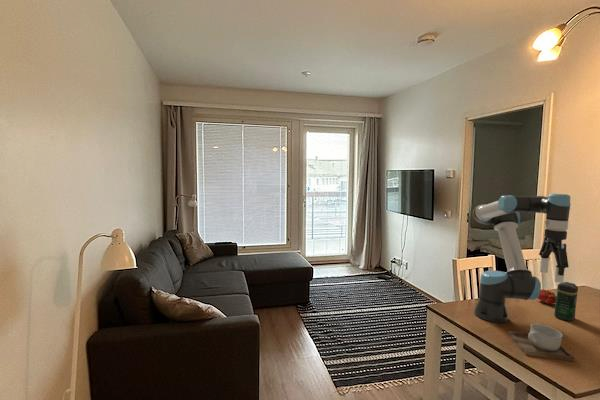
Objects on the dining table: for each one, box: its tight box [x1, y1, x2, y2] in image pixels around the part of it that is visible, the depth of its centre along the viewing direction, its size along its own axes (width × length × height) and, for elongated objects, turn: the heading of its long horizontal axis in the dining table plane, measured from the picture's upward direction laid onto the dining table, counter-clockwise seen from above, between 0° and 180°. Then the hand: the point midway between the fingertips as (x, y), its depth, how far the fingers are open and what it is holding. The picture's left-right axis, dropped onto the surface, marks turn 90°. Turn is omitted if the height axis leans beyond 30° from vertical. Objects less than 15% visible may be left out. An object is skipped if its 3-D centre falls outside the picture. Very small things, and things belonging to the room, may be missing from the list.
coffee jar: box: [553, 281, 579, 322], centre depth 165 cm, size 10×8×19 cm
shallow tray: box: [508, 330, 575, 363], centre depth 136 cm, size 17×17×2 cm
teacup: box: [528, 323, 564, 352], centre depth 134 cm, size 14×11×8 cm
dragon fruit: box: [536, 288, 557, 306], centre depth 185 cm, size 8×8×12 cm
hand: (550, 277), depth 139 cm, fingers open, 13 cm apart
